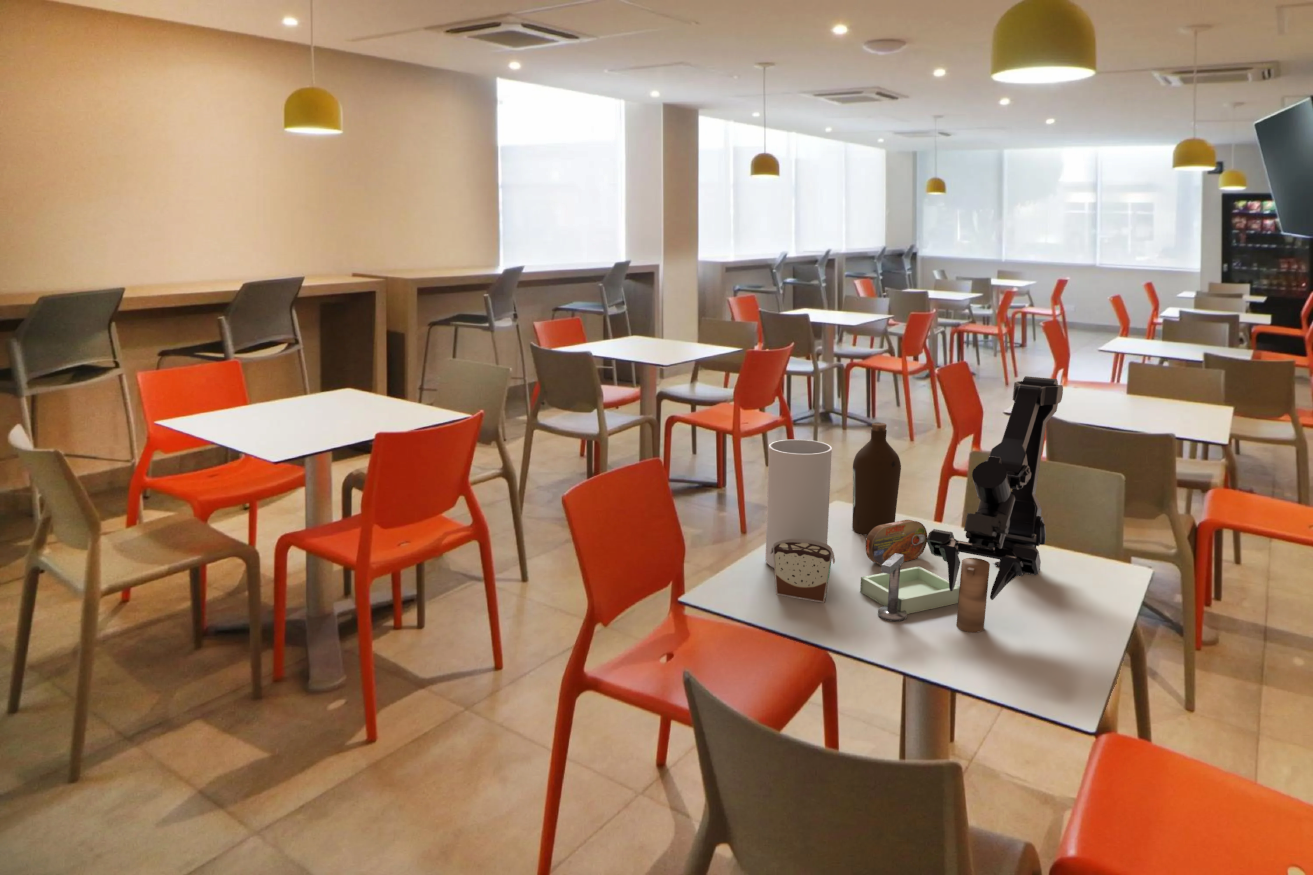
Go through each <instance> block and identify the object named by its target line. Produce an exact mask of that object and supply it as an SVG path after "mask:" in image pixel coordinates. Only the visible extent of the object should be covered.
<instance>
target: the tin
mask: <svg viewBox="0 0 1313 875" xmlns="http://www.w3.org/2000/svg"><path fill="white" fill-rule="evenodd" d="M866 536H867V537H866V540H865V553H866V554H865V555H866V556H867V558H868V559H869V560H870V561H872V562H873V563H875V564H876V565H879V566H881V565H882V564H883V563H884V562H885V561H886V560H888V559H889V558H890V557H891V556H892V555H894V554H895V553H897V554H902V555H904V562H909V561H913V560H916V559H917V558H919V557H920V556H921V555H922V554H923V553H924V551H925V549H926V547H927V545H928V543H927V538H928V531H927V528H926V527H925V525H924V524H923V523H921V522H920V521H917V520H912V519H903V520H898V521H895V522H893V523H888V524H883V525H878V526H876V527H875V528H873V529H872V530H871V531H870V533H869V534H868V535H866ZM904 562H903V563H904Z"/></svg>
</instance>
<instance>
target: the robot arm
mask: <svg viewBox="0 0 1313 875" xmlns="http://www.w3.org/2000/svg"><path fill="white" fill-rule="evenodd" d="M1063 393H1064V386H1063V385H1062V384H1059V381H1058V379H1057V378H1051V377H1050V378H1048V377H1039V376H1038V377H1037V376H1028V375H1027V376H1024V377H1023V379H1022V380H1021V381H1020V380H1017V381H1014V383H1013V392H1012V401H1014V402H1013V404H1012V408H1011V410H1010V411H1011V412H1010V414H1009V416H1008V417H1009V418H1008V421H1007V424H1006V425H1005V426H1006V427H1005V429H1004V434H1003V436H1002V438H1001V442H1000V443H998V444H997V445H995V446H993V447H992V448H991V449H990V453H989V455H988V457H987V459H985V460H984V461H982V462H981V463H979V464H977V465H976V466H975V467H974V468H973V470H972V472H971V473H972V474H971V477H972V481H973V485H974V487H975V489H974V490H975V492H976V496H977V498H978V499H979V502H978V503H979V504H978V507H977V511H975V513H971V512H967V513H966V519H965V524H964V529H963V531H964V532H965V538H966V539H967V540H968V541H963V540H958V539H956V538H955V536H954V533H953V532H952V531H948V530H947V531H946V530H941V529H937V528H936V529H935V528H933V529H932V530H931V531H929V532H928V534H927V546H928V548H929V550H930V553H931V555H933V556H935V557H939V558H942V561H943V562H946V563H947V573H948V581H949V589H950V591H953V589H954V586H955V584H956V583H957V578H958V575H959V574H958V573H959V569H960V564H961V560H960V557H959V555H960V553H963V554H969V555H974V556H978V557H979V556H980V557H985V558H990V559H995V560H999V561H995V562H994V565H995V566H996V567H999V569H998V572H997V574H996V577H995V579H994V581H993V584H992V587H991V591H990V595H989V599H990V600H991V601H993V600H994V599H995V598H996V597H997V596H998V594H1000V593H1001V592H1002V590H1003V589H1004V588H1005V587H1006V586H1007V585H1008V584H1009V583H1010V582H1011V581H1013V580H1014V579H1015V578H1016V577H1023V575H1024V574H1027V575H1032V576H1037V575H1039V573H1040V571H1041V555H1040V551H1039V549H1038V548H1037V547H1040V546H1042V545H1043V546H1044V545H1046V540H1047V532H1046V530H1047V529H1046V524H1045V522H1044V521H1045V520H1044V517H1043V516H1042V505H1041V504H1040V501H1039V499H1038V497H1037V495H1036V492H1037V488H1038V479H1039V472H1040V467H1041V461H1042V460H1041V459H1042V454H1043V453H1042V452H1043V446H1044V441H1045V440H1044V439H1045V433H1046V428H1047V423H1048V422H1049V421H1050V419H1051V418H1052V417H1053V416H1054V415H1055V414H1056V413H1057V411H1058V410H1057V409H1058V406H1059V404H1060V403H1061V402H1062V400H1063V395H1064V394H1063ZM1011 489H1012V490H1011Z"/></svg>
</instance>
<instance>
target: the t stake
mask: <svg viewBox="0 0 1313 875" xmlns="http://www.w3.org/2000/svg"><path fill="white" fill-rule="evenodd" d="M903 563H904V555H902V554H897V553H895V554H894V555H892V556H891V557H890V558H889V559H888V560H886V561H885V562H884V563H883V564H882V565H880V566H881V568H880V573H887V574H889V590H888V606H884V605H883V606H881V607H879V608H878V609H877V616H878V617H879V618H880V619H882V620H884V621H887V622H902V621H904V620H906V619H907V615H908V614H907V612H906V611H905V610H904V611H900V610H898V596H899V581H900V570H901V565H902V564H903Z"/></svg>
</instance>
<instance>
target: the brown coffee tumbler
mask: <svg viewBox="0 0 1313 875" xmlns="http://www.w3.org/2000/svg"><path fill="white" fill-rule="evenodd" d="M990 566H991V563H990V562H989V561H987V560H985V559H982V558H976V557H967V558H963V559H961V568H960V579H959V586H960V589H959V600H958V603H957V614H956V627H957V629H959V630H961V631H963V632H966V633H981V632H983V631H984V630H985V621H986V610H987V609H986V608H987V599H988V597H987V596H988V586H989V576H990V568H991V567H990Z"/></svg>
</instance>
